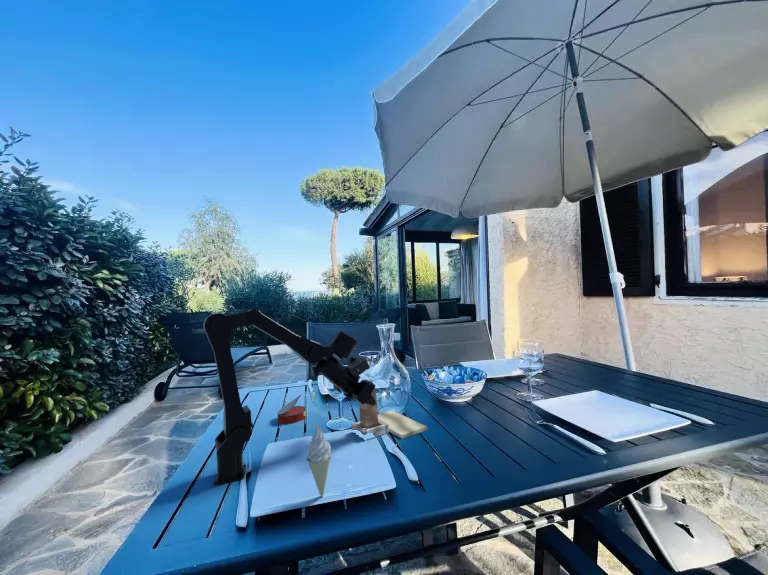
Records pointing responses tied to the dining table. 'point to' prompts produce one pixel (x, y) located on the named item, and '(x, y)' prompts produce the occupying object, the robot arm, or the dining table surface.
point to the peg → (369, 413)
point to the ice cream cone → (319, 458)
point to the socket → (392, 425)
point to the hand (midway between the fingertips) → (371, 402)
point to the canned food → (291, 413)
